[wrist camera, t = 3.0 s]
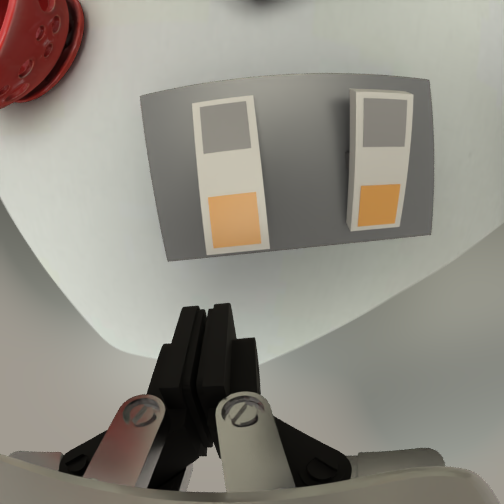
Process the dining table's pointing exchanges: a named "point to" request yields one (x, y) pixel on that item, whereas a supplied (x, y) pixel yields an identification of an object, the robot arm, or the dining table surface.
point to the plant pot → (36, 46)
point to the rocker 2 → (378, 157)
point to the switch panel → (285, 159)
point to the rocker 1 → (230, 175)
